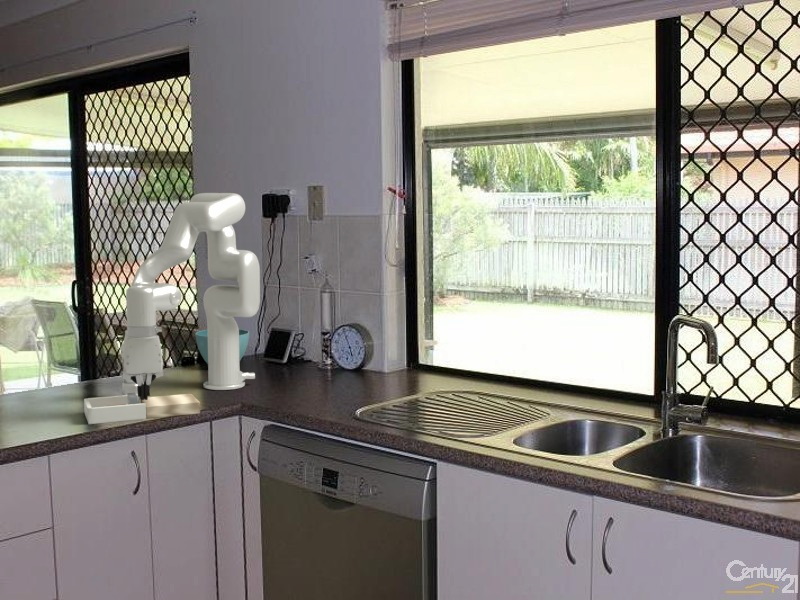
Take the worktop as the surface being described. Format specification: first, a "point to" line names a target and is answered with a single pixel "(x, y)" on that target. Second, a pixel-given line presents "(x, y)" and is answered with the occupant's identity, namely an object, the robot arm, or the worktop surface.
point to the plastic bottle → (129, 385)
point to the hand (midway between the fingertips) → (143, 399)
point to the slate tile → (132, 398)
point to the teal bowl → (203, 343)
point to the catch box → (112, 409)
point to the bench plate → (171, 405)
